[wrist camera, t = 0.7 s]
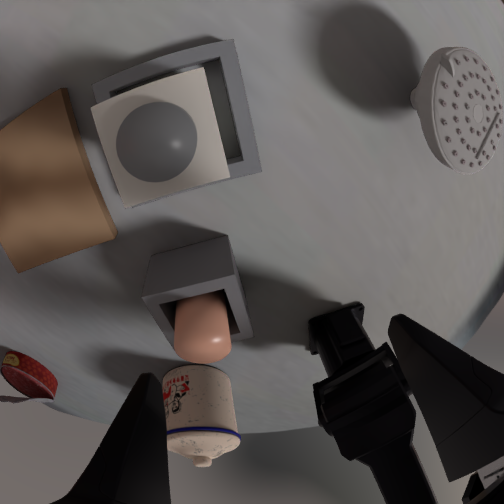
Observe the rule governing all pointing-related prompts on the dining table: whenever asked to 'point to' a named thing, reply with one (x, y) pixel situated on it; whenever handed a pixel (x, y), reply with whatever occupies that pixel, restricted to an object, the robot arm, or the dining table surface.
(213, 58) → the collar
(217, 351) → the pink ball
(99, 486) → the robot arm
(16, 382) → the canned food
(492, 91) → the showerhead
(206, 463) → the teacup with lid
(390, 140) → the dining table surface
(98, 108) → the cartridge
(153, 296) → the housing
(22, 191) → the pad
